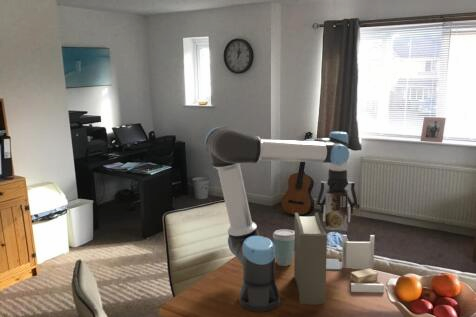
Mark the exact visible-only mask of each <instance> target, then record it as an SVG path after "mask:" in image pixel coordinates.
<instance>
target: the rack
mask: <svg viewBox="0 0 476 317" xmlns="http://www.w3.org/2000/svg"><path fill="white" fill-rule="evenodd" d="M374 257H375V234H370V235H369V241H348V235H347V234H342V252H341V269H342V268H352V269H351V270H364V269H369V268H371V269H372V270H374V261H375V260H374V259H375V258H374ZM384 289H385V285H384V283H379V284H371V283H351V284H350V291H351V292H352V293H384Z"/></svg>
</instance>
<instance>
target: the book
mask: <svg viewBox="0 0 476 317" xmlns="http://www.w3.org/2000/svg"><path fill="white" fill-rule="evenodd" d="M319 214H320V213H319V212H314V215H313V216H301V215H299V212H294V231H295V247H294V265H293V266H294V267H293V268H294V274H293V275H294V276H295V277H294V279H295V282H296V286H297V290H298V298H299V304H303V305H321V304H323V305H324V304H326V294H327V292H326V290H327V288H326V287H327V270H326V259H327V255H328V254H327V252H328V251H327V250H328V249H327V248H328V246H327V244H328V234H327V233H326V232H327V231H326V229H324V227H323V224H322V221H321V219H320V215H319Z"/></svg>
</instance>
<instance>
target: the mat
mask: <svg viewBox="0 0 476 317" xmlns="http://www.w3.org/2000/svg"><path fill="white" fill-rule="evenodd" d="M326 271H342V265H341V263H340V260H339V258H326Z"/></svg>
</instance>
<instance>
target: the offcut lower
mask: <svg viewBox="0 0 476 317" xmlns="http://www.w3.org/2000/svg"><path fill="white" fill-rule="evenodd" d="M350 283H356V282H355V281H353V280H352V279H351V276H350V277H349V284H350ZM365 283H371V284H380V281H379V279H378V278H377V280H374V281H370V282H365Z"/></svg>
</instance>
